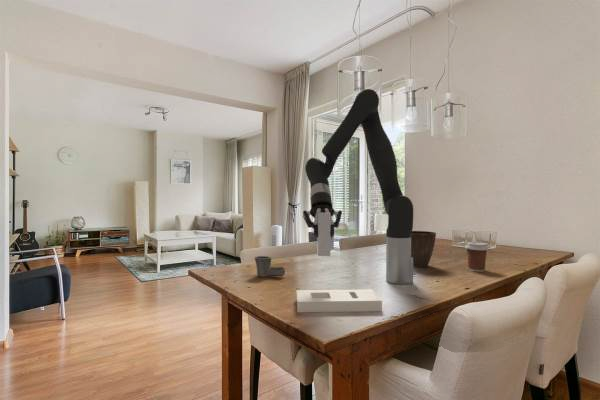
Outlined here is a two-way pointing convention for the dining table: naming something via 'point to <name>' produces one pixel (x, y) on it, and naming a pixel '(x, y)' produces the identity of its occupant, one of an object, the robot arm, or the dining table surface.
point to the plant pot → (422, 247)
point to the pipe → (267, 267)
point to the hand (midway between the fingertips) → (324, 235)
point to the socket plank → (338, 301)
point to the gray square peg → (323, 234)
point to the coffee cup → (476, 256)
